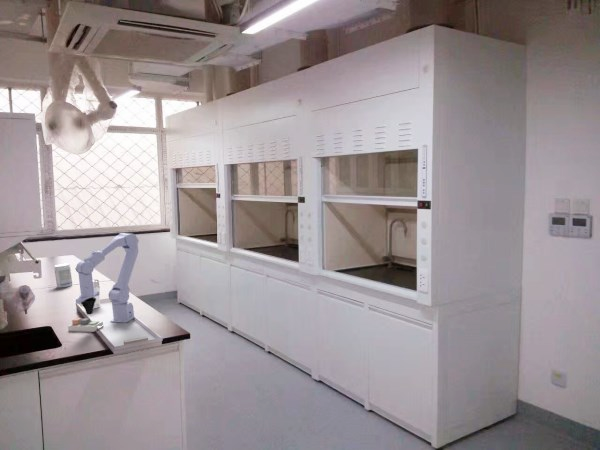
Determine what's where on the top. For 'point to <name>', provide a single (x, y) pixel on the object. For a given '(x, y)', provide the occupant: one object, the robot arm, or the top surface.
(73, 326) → the keypad
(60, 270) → the supplement tub
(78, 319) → the terracotta key
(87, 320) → the grey key
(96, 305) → the beer glass
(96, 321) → the sage key
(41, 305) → the top surface
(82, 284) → the robot arm
